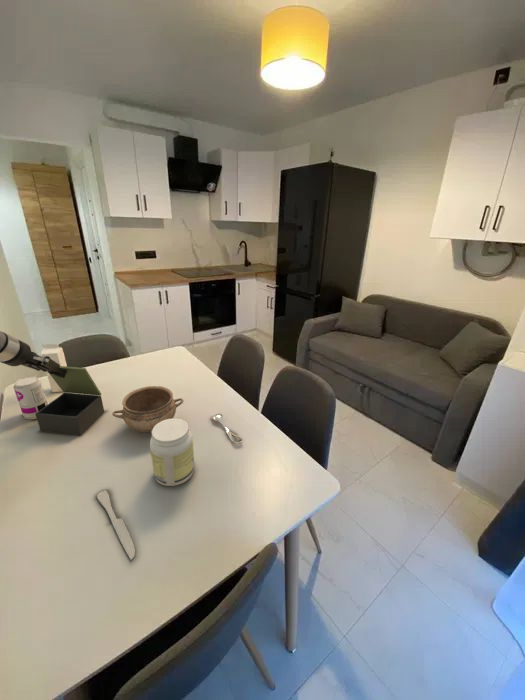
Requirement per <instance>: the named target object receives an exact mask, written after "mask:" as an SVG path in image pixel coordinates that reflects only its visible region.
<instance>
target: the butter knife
mask: <svg viewBox="0 0 525 700" xmlns="http://www.w3.org/2000/svg"><path fill="white" fill-rule="evenodd" d="M96 498H97V500H98V502H99V503H100V504H101V506H102V507H103V508H104V509H105V511H106V512H107V515H108V518H109V520H110V522H111V524H112V526H113V528H114V530H115V533H116V534H117V537H118V539H119V541H120V543H121V545H122V547H123V549H124V551H125V552H126V554H127V556H128V558H129V560H133V559H134V557H135V555H136V550H135V545H134V542H133V540H132V537H131V534H130V533H129V530H128V528H127V527H126V524H125V522H124V520H123V519H122V518H117V516H116V514H115V512H114V509H113V508H112V503H111V498H110V495H109V493H108V491H107V490H101V491H100V492H99V493H97V494H96Z"/></svg>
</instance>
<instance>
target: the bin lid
mask: <svg viewBox="0 0 525 700" xmlns="http://www.w3.org/2000/svg"><path fill="white" fill-rule="evenodd" d="M60 368H62V369H64V370H66V371H67V372H66V375H65V378H60V377H58V376H55V375H53V374H50V375H51V376H52V378H53V379H54V380H55V382H56V383H57V384H58V386H59V387H60V388H61V390H62V393H75V394H86V395H97V396H102V393H101V391H100V389H99V388H98V386H97V384H96V383H95V381H94V380H93V378H92V377H91V375H90V373H89V371H88V370H87V368H86V367H78V366H77V367H76V366H68V365H67V366H60Z"/></svg>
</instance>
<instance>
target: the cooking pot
mask: <svg viewBox="0 0 525 700" xmlns="http://www.w3.org/2000/svg"><path fill="white" fill-rule="evenodd" d="M183 403H184V398H182V397H180V398H176V399H174V393H173V392H172V390H171V389H169V388H167V387H164V386H160V385H150V386H143V387H139V388H136V389H134V390H132V391H130V392H129V393H127V394H126V395H125V396H124V398H123V399H122V403H121V404H122V406H123V407H122V409H120V410H114V411H113V412H112V414H111V415H112V416H113V417H115V418H117V419H121V420H123V422H124V424H125V425H126V427H128V428H129V429H130V430H133V431H135V432H139V433H149V432H152V429H153V428H154V426H155V425H156V424H158V423H159V422H161V421H163V420H166V419H173V418H174V417H175V415H176V413H177V408H178V407H180V406H181V405H182V404H183Z"/></svg>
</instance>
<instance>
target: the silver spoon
mask: <svg viewBox="0 0 525 700" xmlns="http://www.w3.org/2000/svg"><path fill="white" fill-rule="evenodd" d="M210 418H211V419H212V420H214V421H216V422H218V423H220V424H221V425H222V426H223V428H224V429H225V432H226V434H227V436H228V438H229V440H231V442H233V443H242V441H243V438H242V437H241V436H239V435H236V434H234V433H233V432H232V431H230V429H229V428H228V427H227V425H226V423H225V415H224V414H222V413H221V412H219V413H216V414H213V415H212V416H211V417H210Z"/></svg>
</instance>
